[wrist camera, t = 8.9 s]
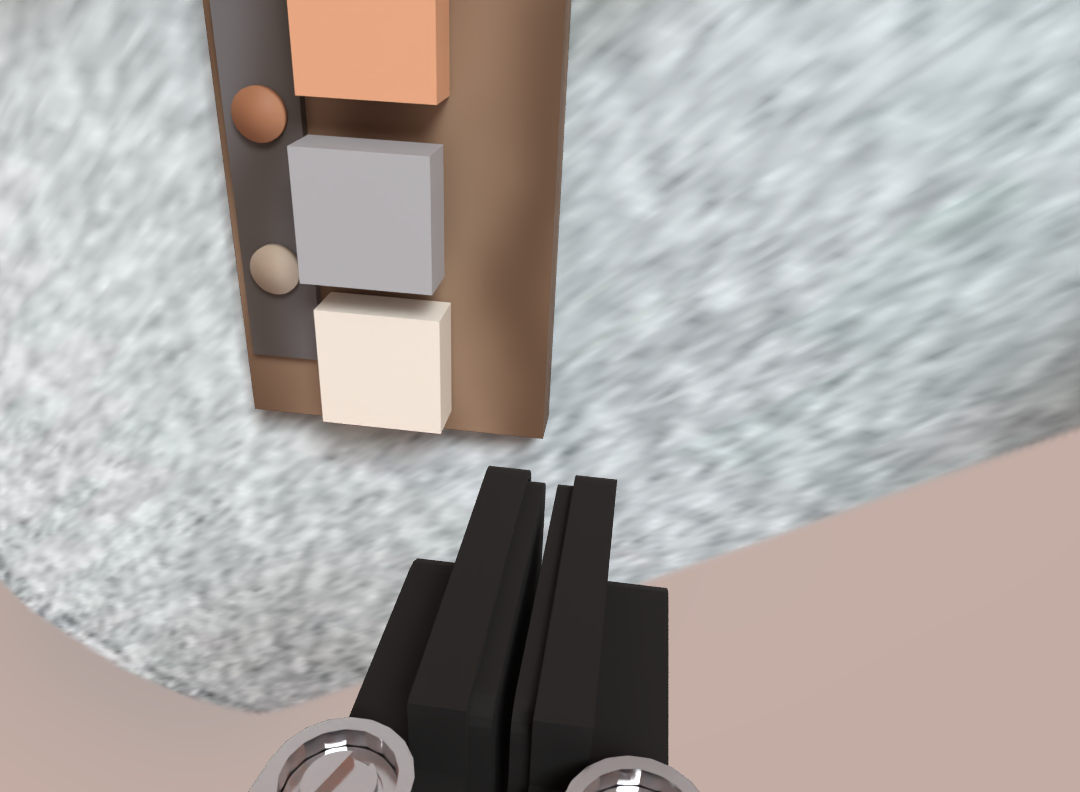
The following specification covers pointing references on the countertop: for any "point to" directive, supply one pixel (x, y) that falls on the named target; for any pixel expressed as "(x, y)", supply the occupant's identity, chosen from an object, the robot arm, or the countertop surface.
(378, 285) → the grey key
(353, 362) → the cream key
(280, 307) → the keypad board
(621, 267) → the countertop surface
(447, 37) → the terracotta key
